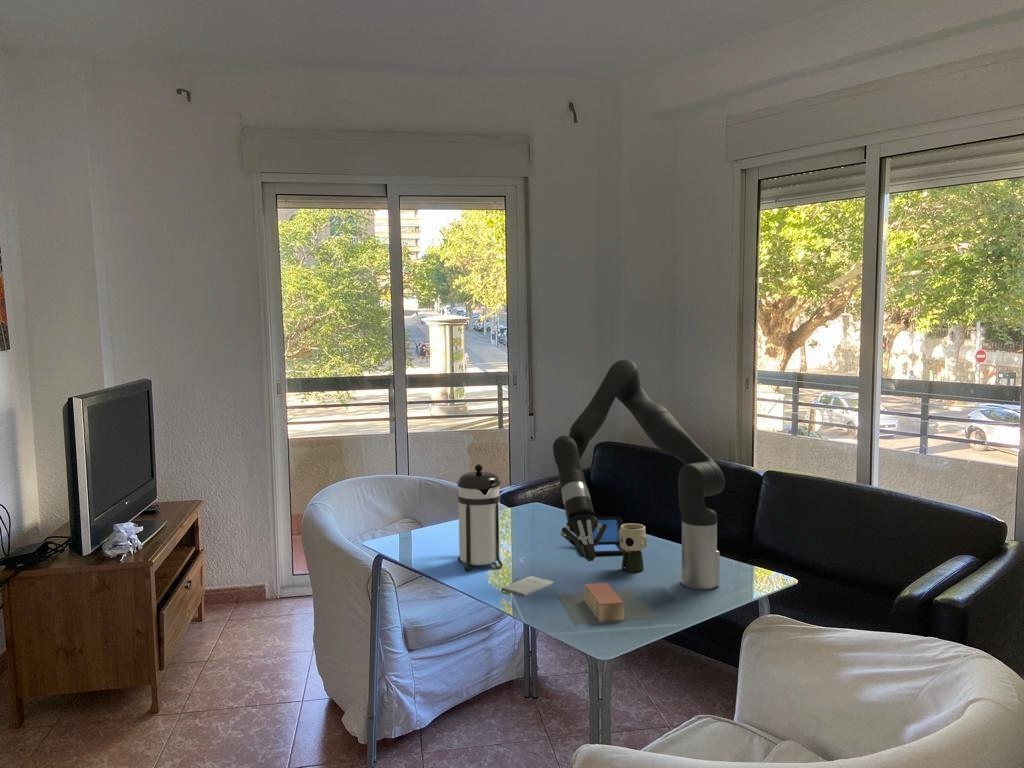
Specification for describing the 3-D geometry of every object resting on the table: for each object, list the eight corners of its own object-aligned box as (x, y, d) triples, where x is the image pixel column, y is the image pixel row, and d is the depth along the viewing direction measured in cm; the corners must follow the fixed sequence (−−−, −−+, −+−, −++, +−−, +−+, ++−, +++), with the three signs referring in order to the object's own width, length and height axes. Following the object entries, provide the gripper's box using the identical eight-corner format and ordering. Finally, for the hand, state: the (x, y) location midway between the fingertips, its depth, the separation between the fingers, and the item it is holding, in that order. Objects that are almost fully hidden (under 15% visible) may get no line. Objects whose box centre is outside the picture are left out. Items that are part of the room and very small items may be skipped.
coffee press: (516, 561, 222) (515, 462, 220) (485, 576, 209) (484, 471, 207) (470, 552, 232) (469, 457, 230) (437, 565, 219) (436, 465, 217)
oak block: (607, 582, 189) (624, 602, 175) (607, 599, 189) (624, 620, 175) (584, 584, 188) (599, 604, 174) (584, 600, 188) (599, 621, 174)
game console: (581, 557, 226) (581, 528, 226) (574, 545, 240) (574, 517, 239) (631, 556, 227) (632, 527, 227) (621, 543, 241) (621, 516, 240)
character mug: (610, 568, 215) (610, 524, 214) (628, 563, 219) (628, 520, 218) (637, 578, 206) (637, 532, 205) (655, 573, 210) (655, 528, 209)
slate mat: (630, 591, 196) (630, 589, 196) (657, 620, 176) (657, 618, 176) (556, 596, 193) (556, 594, 193) (575, 626, 173) (575, 624, 173)
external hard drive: (501, 593, 197) (530, 580, 207) (525, 600, 192) (553, 586, 201) (501, 587, 197) (530, 574, 206) (525, 593, 192) (553, 581, 201)
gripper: (597, 507, 207) (612, 564, 196) (551, 510, 205) (563, 568, 194) (603, 493, 201) (618, 550, 191) (555, 496, 199) (568, 555, 188)
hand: (590, 559), depth 192 cm, fingers closed
